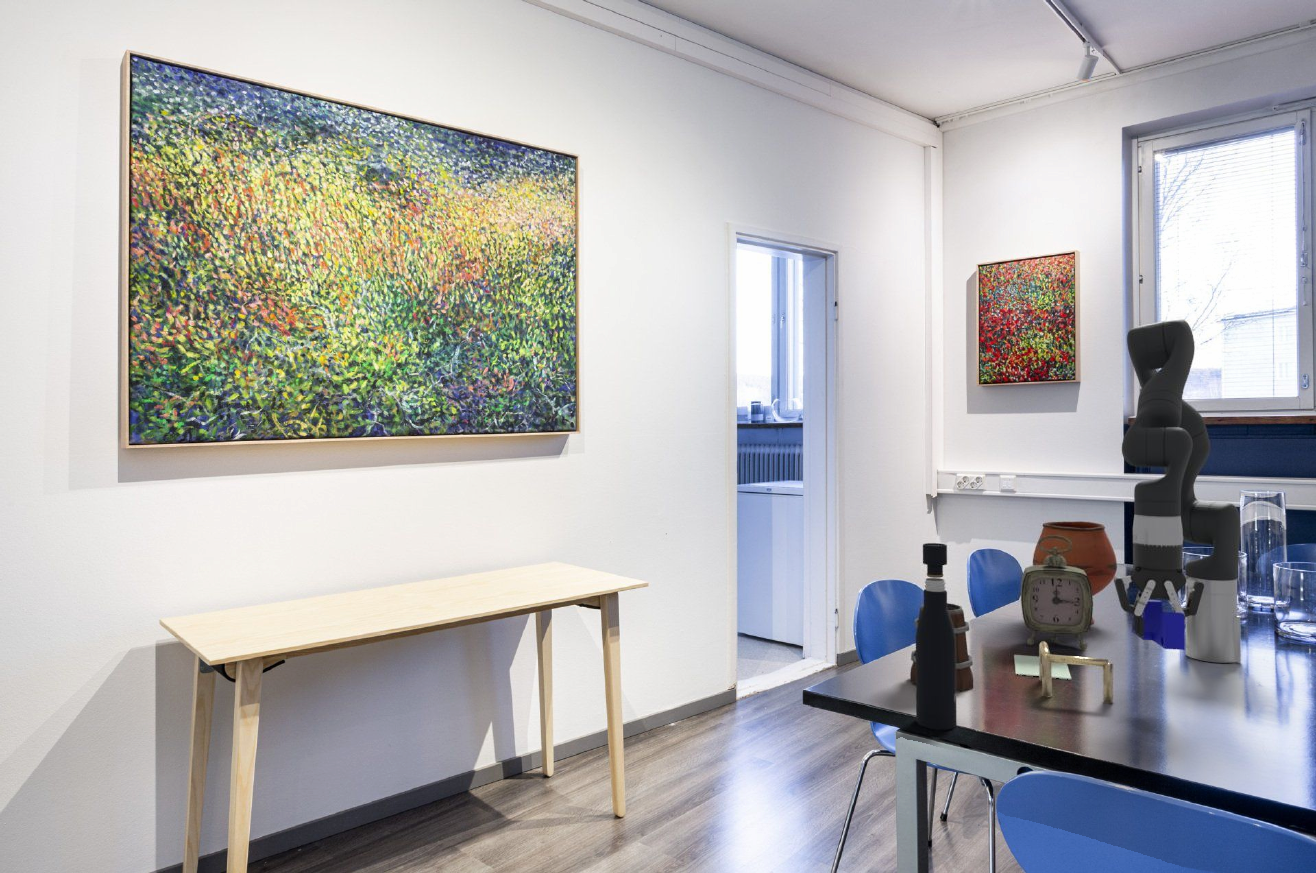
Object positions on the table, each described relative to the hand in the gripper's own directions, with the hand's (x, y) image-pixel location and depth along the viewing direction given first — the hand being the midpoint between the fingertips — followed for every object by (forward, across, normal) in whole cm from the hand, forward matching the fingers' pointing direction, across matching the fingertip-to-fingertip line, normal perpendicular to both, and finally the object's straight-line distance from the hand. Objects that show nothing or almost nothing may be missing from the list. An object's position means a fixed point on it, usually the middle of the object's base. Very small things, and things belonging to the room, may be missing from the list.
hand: (1158, 637), depth 147 cm
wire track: (+12, +13, -5) cm, 19 cm away
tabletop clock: (+13, +14, -41) cm, 45 cm away
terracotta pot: (+13, +7, -68) cm, 70 cm away
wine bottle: (+13, +36, +22) cm, 44 cm away
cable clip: (+1, 0, -1) cm, 1 cm away
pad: (+12, +18, -20) cm, 30 cm away
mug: (+13, +36, -4) cm, 38 cm away
